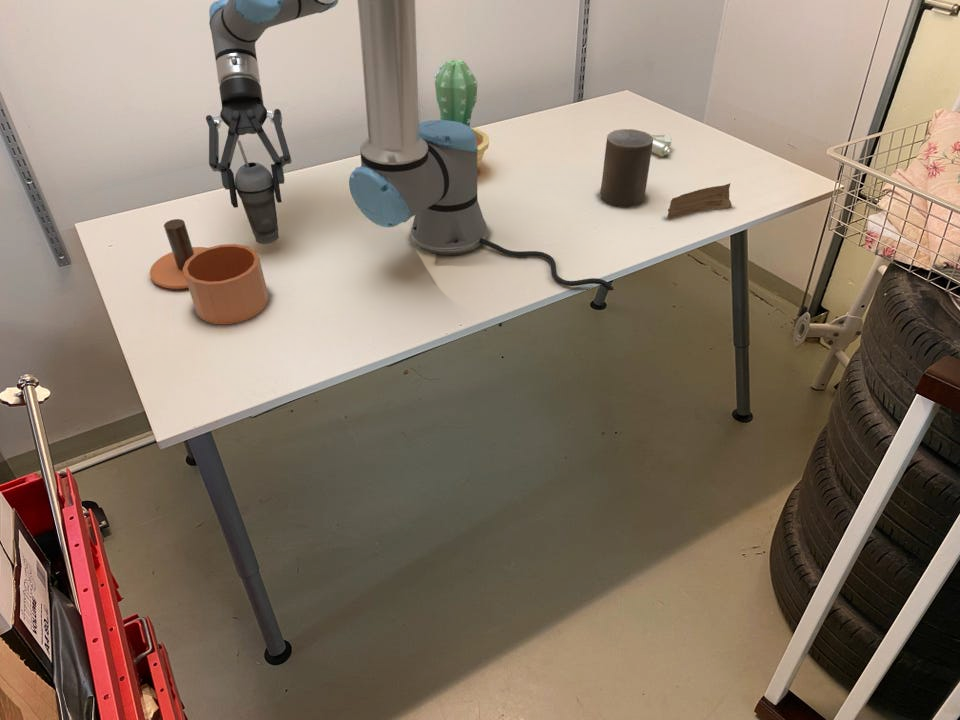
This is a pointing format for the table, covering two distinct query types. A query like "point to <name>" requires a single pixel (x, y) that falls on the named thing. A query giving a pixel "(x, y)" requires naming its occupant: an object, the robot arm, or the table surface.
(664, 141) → the pipe fitting
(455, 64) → the potted cactus
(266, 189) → the beverage cup
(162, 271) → the lid
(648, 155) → the pillar candle
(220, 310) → the canister
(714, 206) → the wood plank
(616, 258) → the table surface
